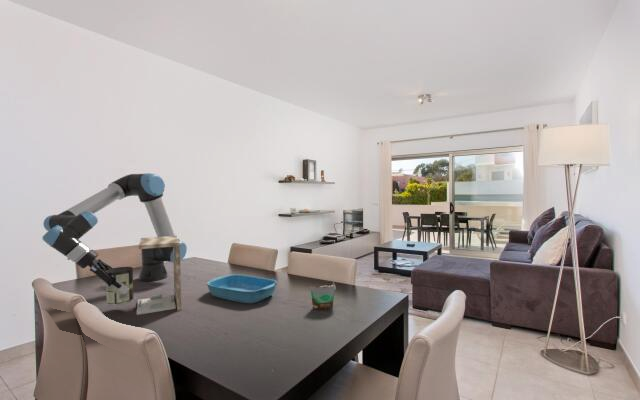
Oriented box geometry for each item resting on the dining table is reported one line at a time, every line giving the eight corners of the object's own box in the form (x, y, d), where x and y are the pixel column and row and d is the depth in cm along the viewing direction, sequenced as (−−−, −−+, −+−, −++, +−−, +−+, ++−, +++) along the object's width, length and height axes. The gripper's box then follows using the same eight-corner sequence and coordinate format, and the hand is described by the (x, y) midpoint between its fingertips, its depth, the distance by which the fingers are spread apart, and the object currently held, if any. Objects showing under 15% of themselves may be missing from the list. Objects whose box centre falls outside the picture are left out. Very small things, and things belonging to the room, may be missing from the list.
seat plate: (136, 314, 136) (136, 308, 136) (138, 301, 152) (138, 296, 152) (175, 308, 143) (175, 303, 143) (173, 296, 159) (173, 291, 159)
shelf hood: (140, 316, 134) (138, 245, 133) (142, 299, 155) (140, 238, 154) (181, 310, 141) (179, 242, 140) (177, 294, 162) (176, 235, 162)
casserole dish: (198, 296, 160) (197, 282, 160) (231, 284, 180) (231, 271, 179) (255, 309, 142) (255, 293, 142) (285, 295, 161) (285, 280, 161)
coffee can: (122, 296, 147) (121, 265, 147) (139, 299, 144) (138, 267, 144) (100, 304, 138) (99, 271, 137) (118, 307, 134) (117, 273, 134)
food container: (316, 313, 136) (315, 289, 136) (309, 308, 142) (309, 286, 142) (341, 308, 142) (341, 285, 142) (334, 303, 147) (334, 282, 147)
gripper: (80, 257, 143) (123, 288, 151) (69, 268, 123) (118, 302, 131) (94, 244, 146) (136, 275, 153) (85, 253, 126) (133, 288, 133)
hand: (128, 288), depth 142 cm, fingers closed on coffee can, 10 cm apart
